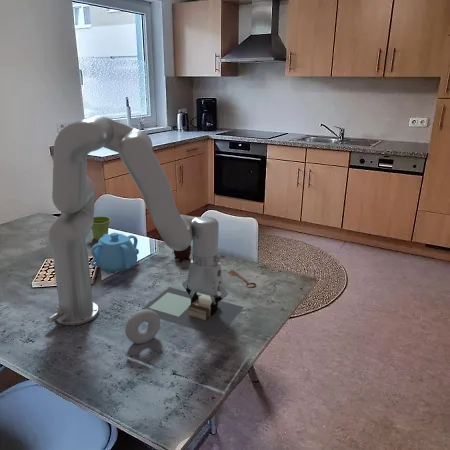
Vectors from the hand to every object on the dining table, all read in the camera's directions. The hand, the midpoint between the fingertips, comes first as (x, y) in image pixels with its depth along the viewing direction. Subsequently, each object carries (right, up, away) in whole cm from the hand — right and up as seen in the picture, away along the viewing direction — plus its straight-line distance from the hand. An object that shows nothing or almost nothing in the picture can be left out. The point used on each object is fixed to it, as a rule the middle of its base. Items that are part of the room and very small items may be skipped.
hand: (204, 310), depth 128 cm
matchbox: (-5, -11, -27) cm, 30 cm away
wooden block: (0, 0, 0) cm, 0 cm away
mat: (-4, -1, +1) cm, 4 cm away
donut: (-16, -6, -14) cm, 22 cm away
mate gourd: (-11, +13, +37) cm, 41 cm away
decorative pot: (-35, +10, +29) cm, 47 cm away
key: (+12, +6, +22) cm, 26 cm away
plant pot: (-49, +21, +56) cm, 77 cm away
